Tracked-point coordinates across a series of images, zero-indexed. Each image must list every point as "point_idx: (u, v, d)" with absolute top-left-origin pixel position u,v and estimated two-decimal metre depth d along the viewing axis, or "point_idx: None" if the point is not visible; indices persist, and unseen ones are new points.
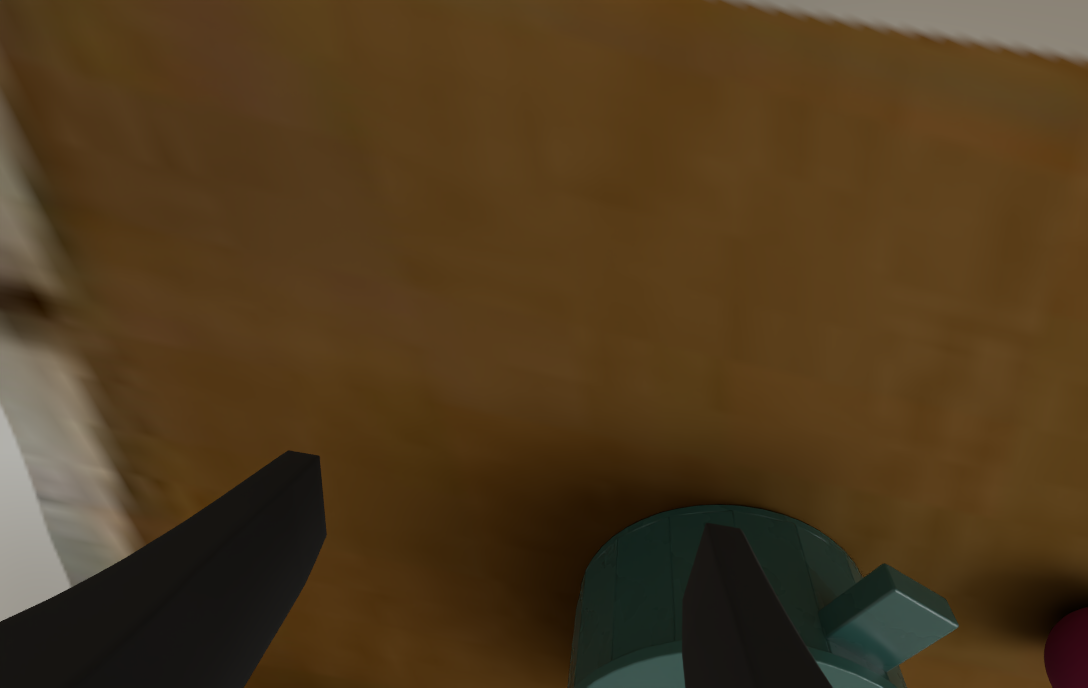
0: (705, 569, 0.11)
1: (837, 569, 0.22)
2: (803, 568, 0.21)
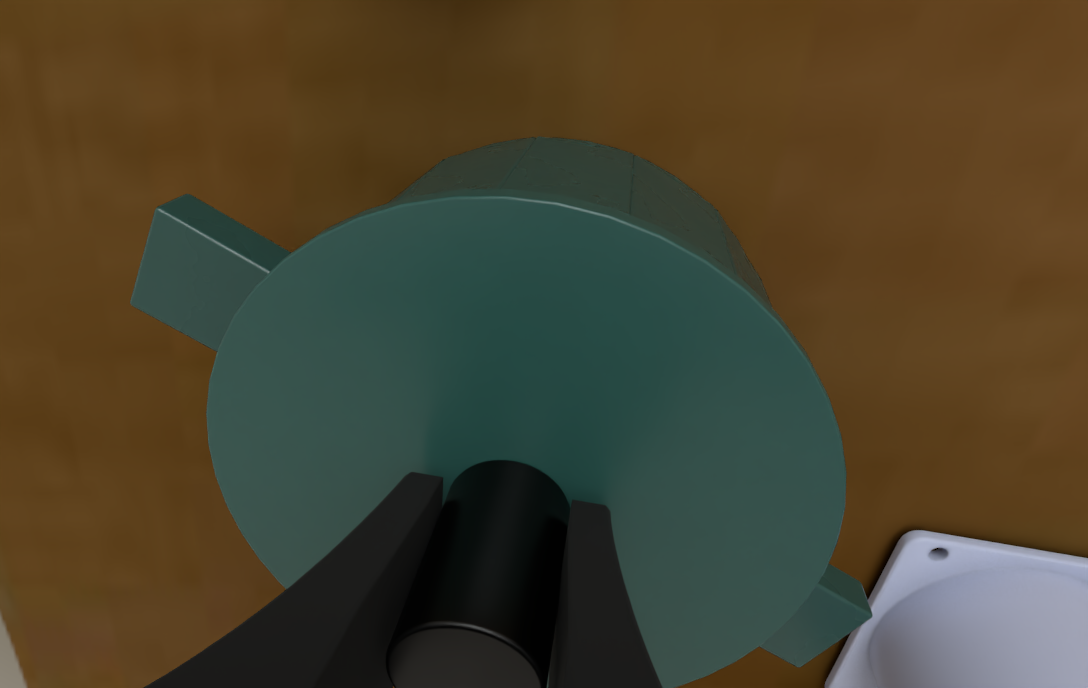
0: (565, 544, 0.11)
1: None
2: None
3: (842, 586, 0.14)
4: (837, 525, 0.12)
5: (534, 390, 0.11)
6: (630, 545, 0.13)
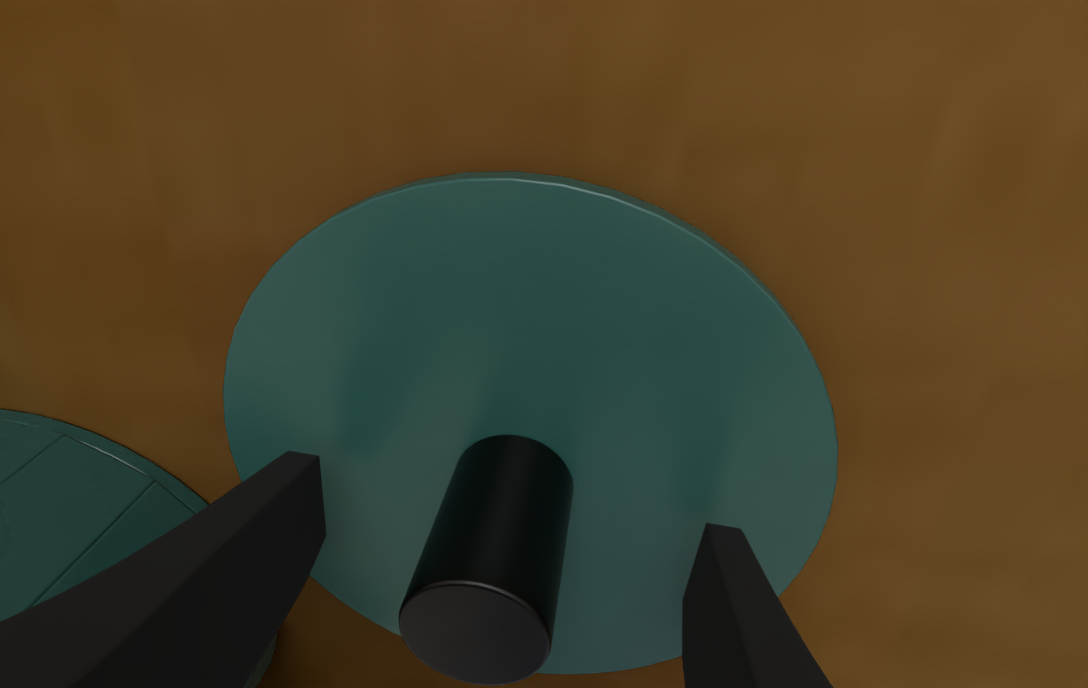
0: (705, 569, 0.11)
1: None
2: None
3: None
4: (830, 497, 0.12)
5: (539, 366, 0.12)
6: (631, 517, 0.13)
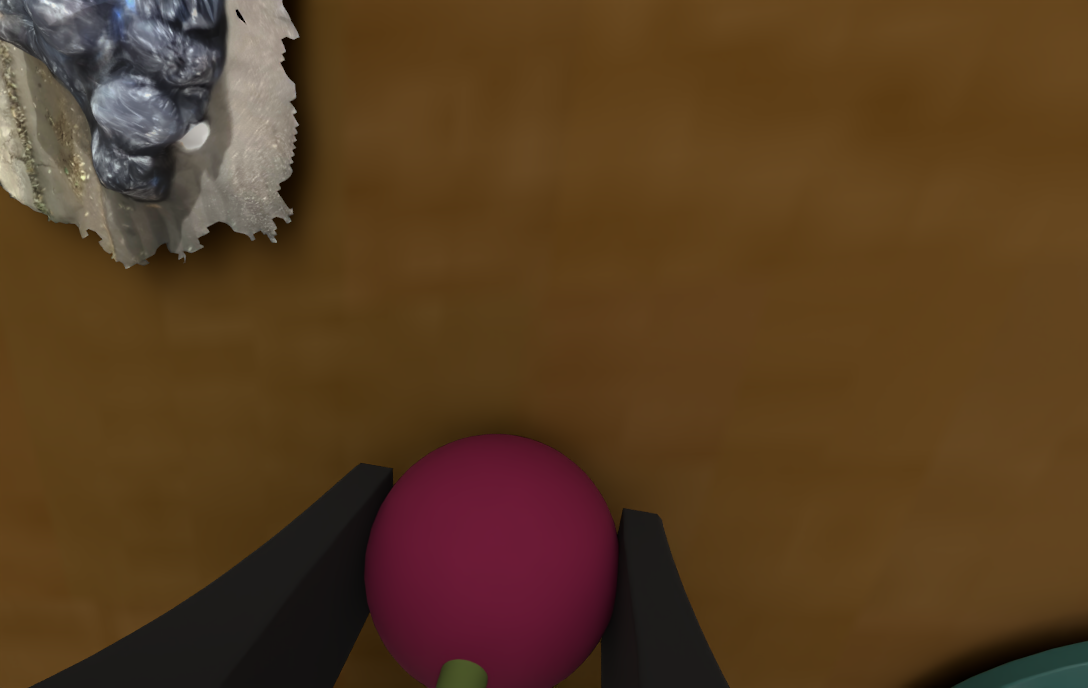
0: None
1: None
2: None
3: None
4: None
5: None
6: None
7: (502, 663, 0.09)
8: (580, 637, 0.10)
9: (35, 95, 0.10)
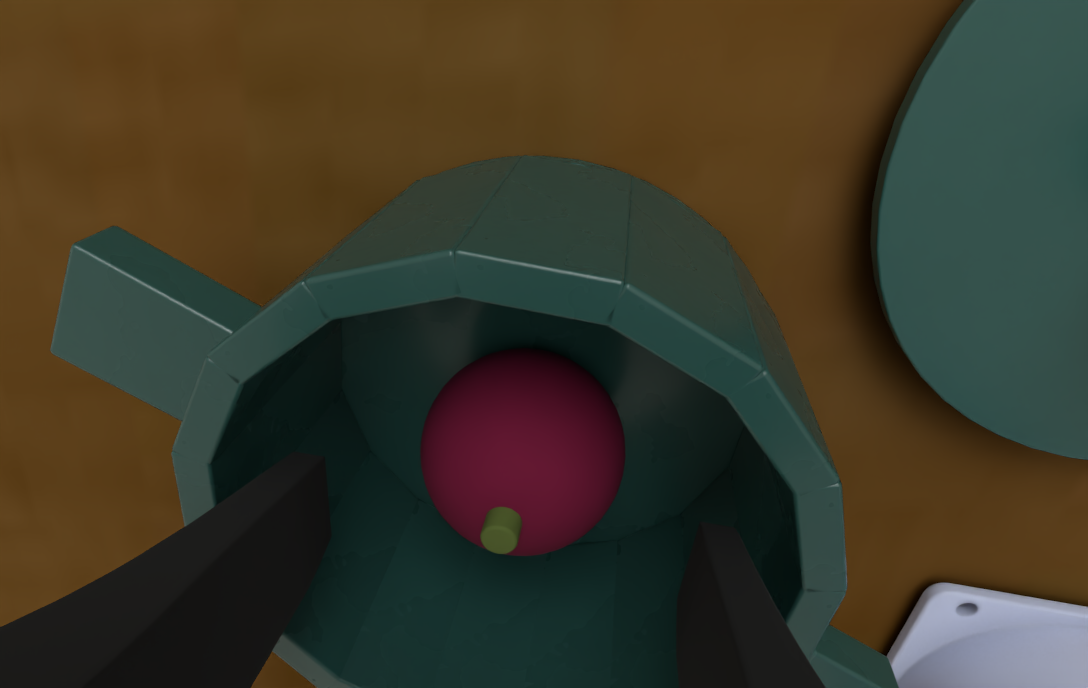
0: (699, 568, 0.11)
1: None
2: None
3: (868, 666, 0.13)
4: None
5: None
6: None
7: (534, 510, 0.12)
8: (594, 496, 0.13)
9: None
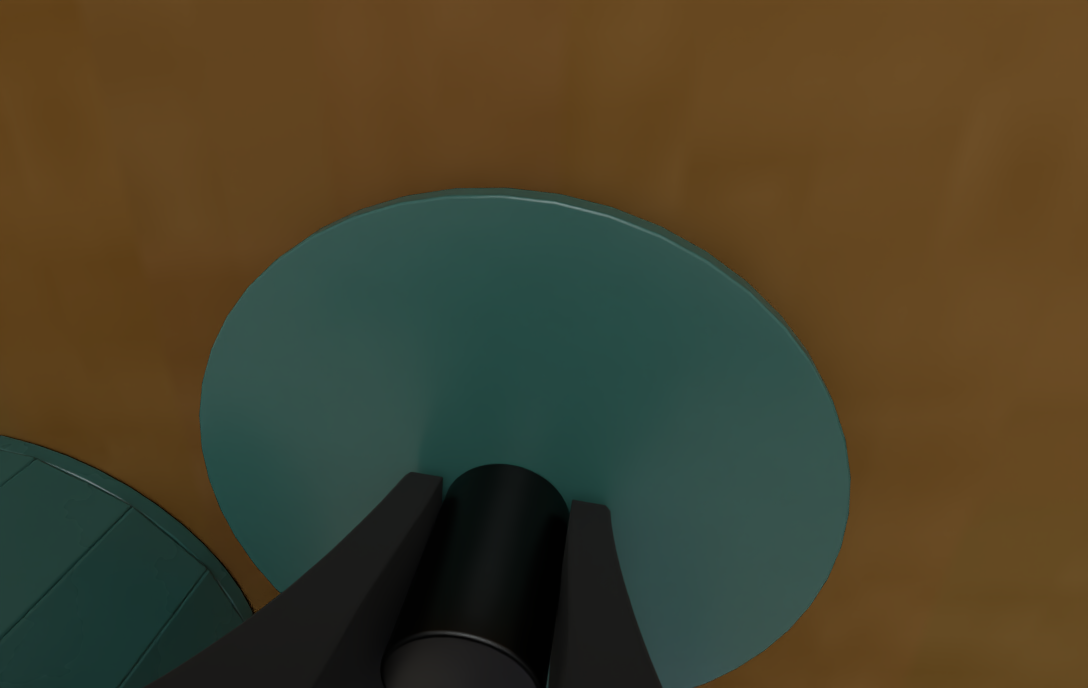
0: (565, 544, 0.11)
1: None
2: None
3: None
4: (841, 530, 0.11)
5: (532, 393, 0.11)
6: (630, 550, 0.12)
7: None
8: None
9: None
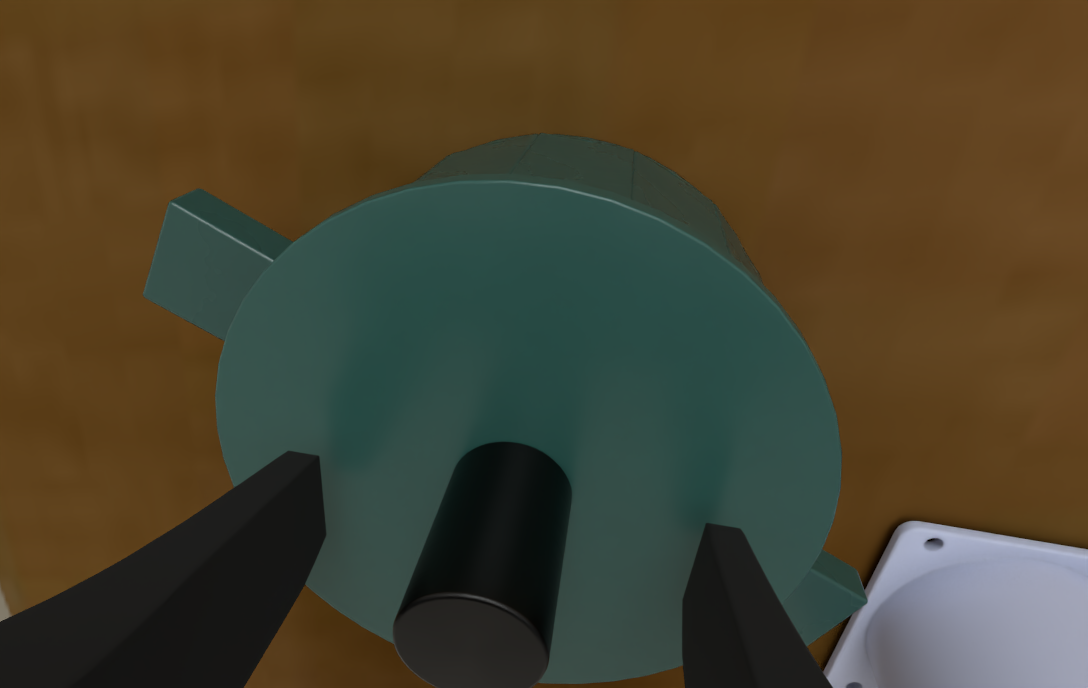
0: (705, 569, 0.11)
1: None
2: None
3: (838, 573, 0.15)
4: (833, 505, 0.12)
5: (537, 372, 0.11)
6: (631, 526, 0.13)
7: None
8: None
9: None
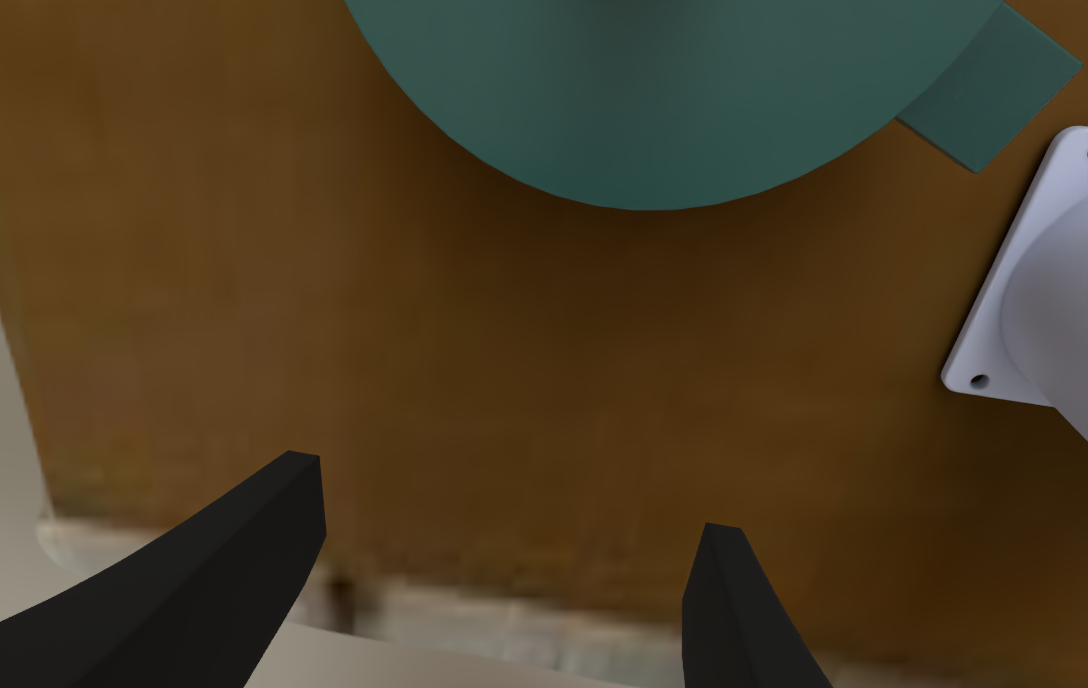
0: (705, 569, 0.11)
1: None
2: None
3: None
4: None
5: None
6: None
7: None
8: None
9: None
